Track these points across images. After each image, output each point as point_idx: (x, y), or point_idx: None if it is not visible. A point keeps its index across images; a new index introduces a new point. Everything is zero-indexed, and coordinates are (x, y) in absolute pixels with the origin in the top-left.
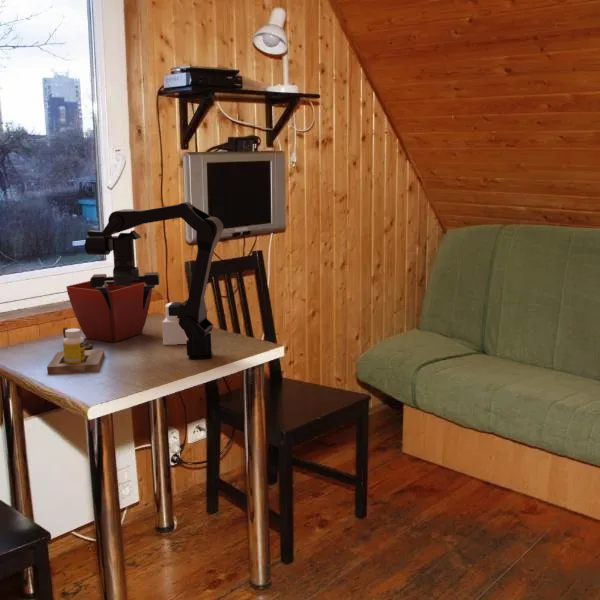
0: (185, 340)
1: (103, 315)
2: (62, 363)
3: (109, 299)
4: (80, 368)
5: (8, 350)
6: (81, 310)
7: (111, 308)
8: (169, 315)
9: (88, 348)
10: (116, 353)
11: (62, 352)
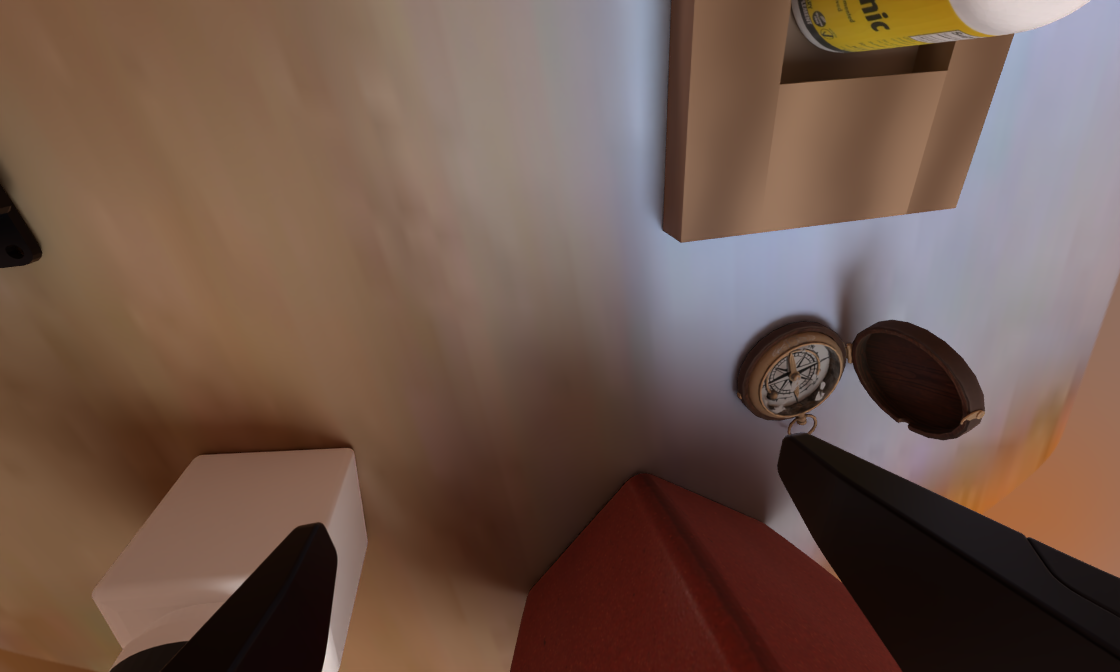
0: (186, 472)
1: (759, 588)
2: None
3: (948, 572)
4: None
5: (1081, 351)
6: None
7: (788, 481)
8: None
9: (760, 349)
10: (599, 286)
11: (932, 181)
